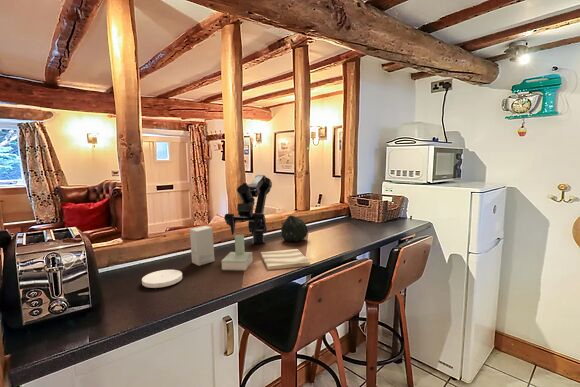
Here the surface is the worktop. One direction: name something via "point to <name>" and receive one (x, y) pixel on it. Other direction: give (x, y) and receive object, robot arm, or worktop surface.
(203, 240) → the skincare box
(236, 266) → the tray
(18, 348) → the worktop surface
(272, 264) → the birch board
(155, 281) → the plastic lid
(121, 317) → the worktop surface
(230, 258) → the sage lid
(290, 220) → the squash
